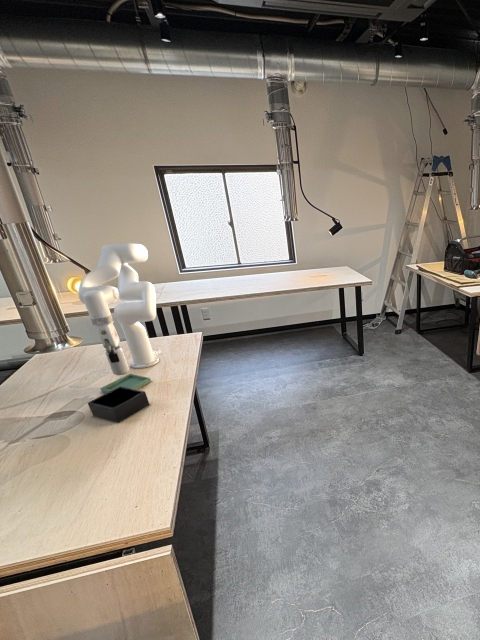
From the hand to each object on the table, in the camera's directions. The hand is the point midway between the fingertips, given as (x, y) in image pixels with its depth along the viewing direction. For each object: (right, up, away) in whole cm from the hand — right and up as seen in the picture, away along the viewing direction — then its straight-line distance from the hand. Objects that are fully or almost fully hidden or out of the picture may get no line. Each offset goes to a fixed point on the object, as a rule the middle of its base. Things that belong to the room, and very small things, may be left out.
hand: (116, 358), depth 181 cm
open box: (+10, -22, -12) cm, 27 cm away
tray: (0, -13, +7) cm, 14 cm away
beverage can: (0, -6, +3) cm, 7 cm away
